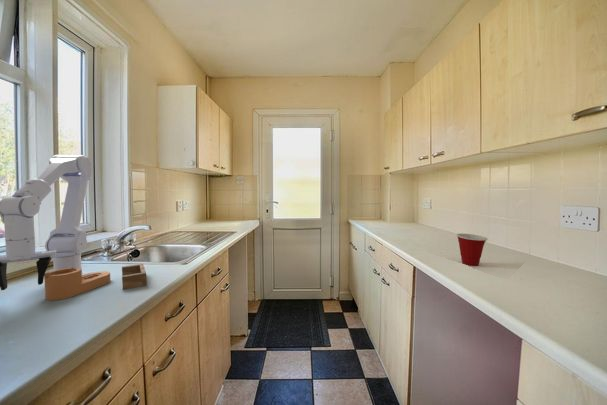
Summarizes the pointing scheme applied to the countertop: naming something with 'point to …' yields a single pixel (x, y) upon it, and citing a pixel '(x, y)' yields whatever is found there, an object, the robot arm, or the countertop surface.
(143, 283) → the jig
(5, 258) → the robot arm
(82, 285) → the bracket
